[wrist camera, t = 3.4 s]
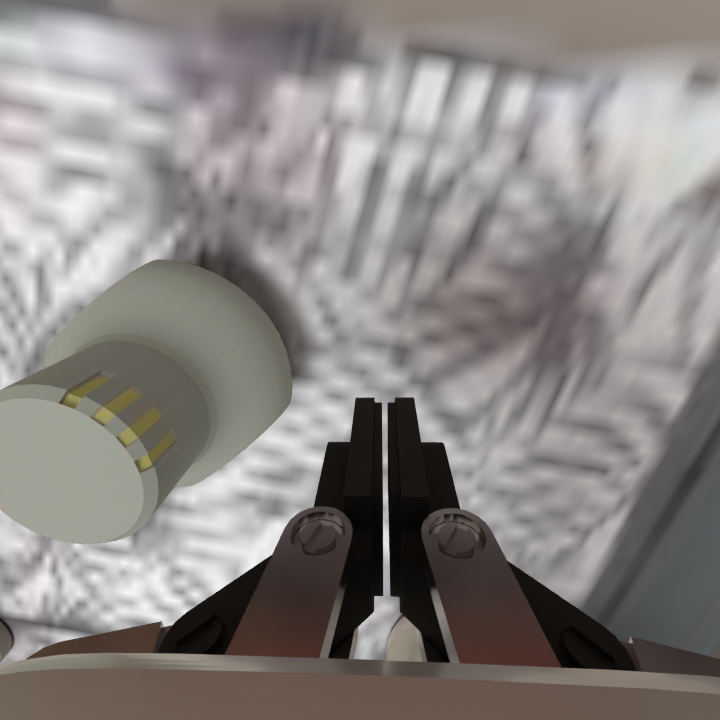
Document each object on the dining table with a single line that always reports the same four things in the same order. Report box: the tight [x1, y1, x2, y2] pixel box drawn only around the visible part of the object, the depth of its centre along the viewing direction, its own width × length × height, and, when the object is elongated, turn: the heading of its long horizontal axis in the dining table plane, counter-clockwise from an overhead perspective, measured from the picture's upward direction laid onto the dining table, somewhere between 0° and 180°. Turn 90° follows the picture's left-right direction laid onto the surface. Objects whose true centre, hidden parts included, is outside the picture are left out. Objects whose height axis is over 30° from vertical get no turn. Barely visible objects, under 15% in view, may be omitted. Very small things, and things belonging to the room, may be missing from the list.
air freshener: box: [0, 260, 292, 544], centre depth 16 cm, size 11×8×10 cm
